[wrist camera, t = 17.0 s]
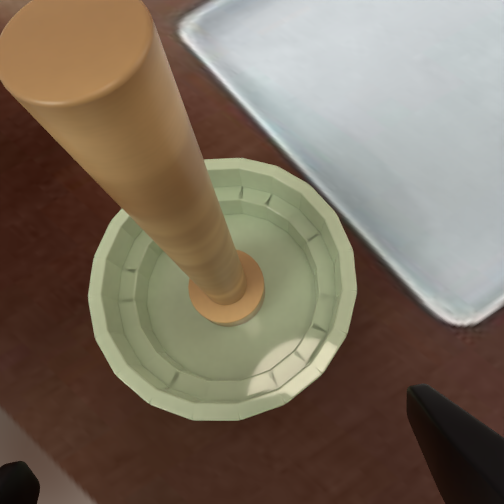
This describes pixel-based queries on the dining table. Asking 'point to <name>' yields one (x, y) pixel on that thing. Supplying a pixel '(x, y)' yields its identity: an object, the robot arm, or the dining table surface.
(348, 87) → the dining table surface
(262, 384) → the bowl
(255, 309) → the tan wooden rod
